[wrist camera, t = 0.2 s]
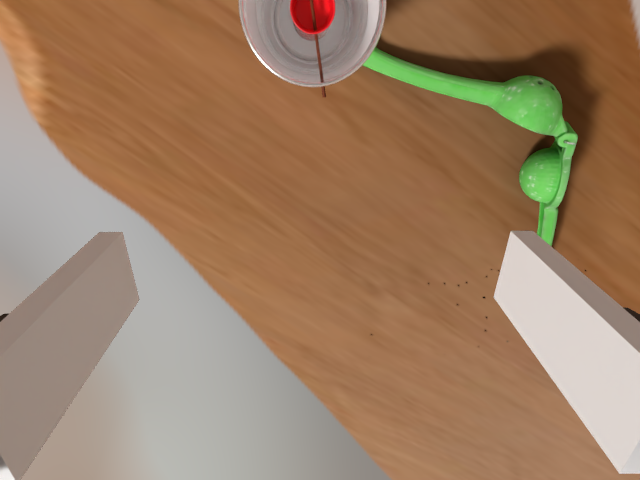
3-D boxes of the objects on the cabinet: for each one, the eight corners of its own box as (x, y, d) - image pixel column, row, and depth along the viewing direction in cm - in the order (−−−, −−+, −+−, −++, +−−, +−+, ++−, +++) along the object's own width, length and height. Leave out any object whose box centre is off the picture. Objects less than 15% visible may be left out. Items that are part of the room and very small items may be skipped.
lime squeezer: (349, 58, 35) (357, 60, 29) (465, -45, 31) (499, -65, 26) (518, 294, 47) (547, 328, 41) (614, 237, 44) (659, 266, 38)
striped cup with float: (249, -44, 31) (216, -90, 20) (355, -62, 30) (380, -120, 20) (274, 89, 35) (258, 109, 24) (367, 74, 35) (392, 88, 24)
